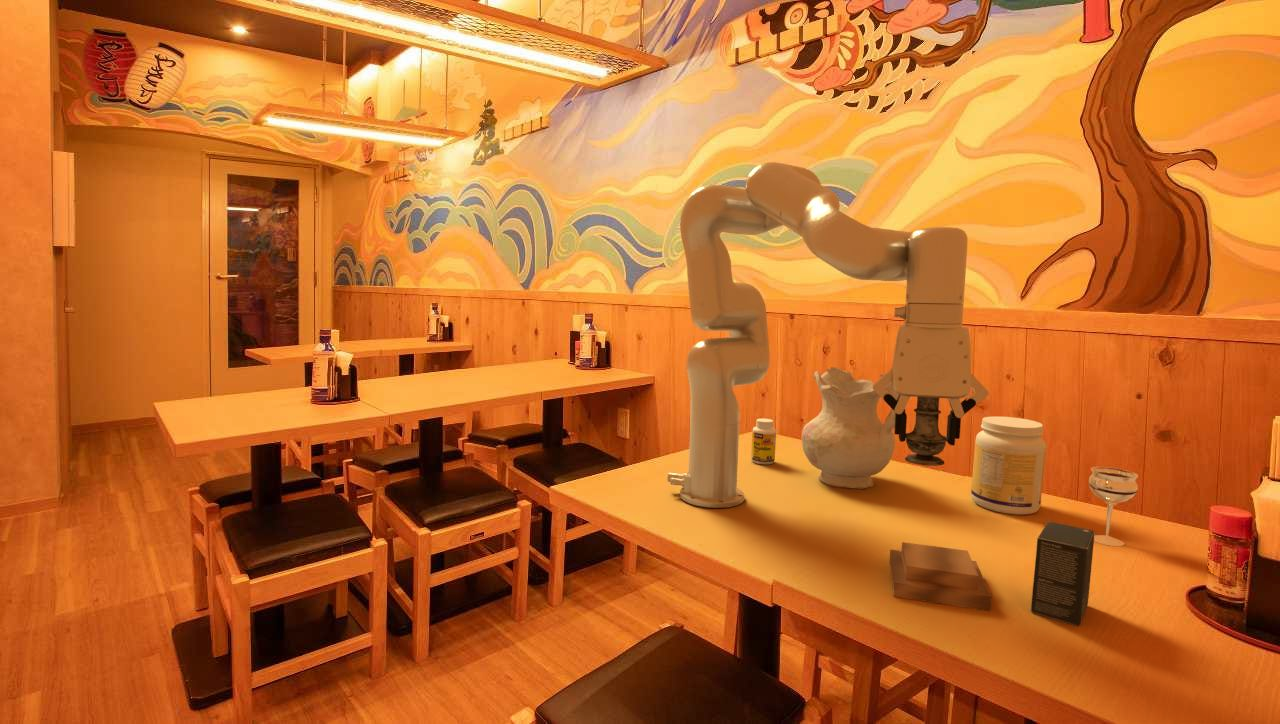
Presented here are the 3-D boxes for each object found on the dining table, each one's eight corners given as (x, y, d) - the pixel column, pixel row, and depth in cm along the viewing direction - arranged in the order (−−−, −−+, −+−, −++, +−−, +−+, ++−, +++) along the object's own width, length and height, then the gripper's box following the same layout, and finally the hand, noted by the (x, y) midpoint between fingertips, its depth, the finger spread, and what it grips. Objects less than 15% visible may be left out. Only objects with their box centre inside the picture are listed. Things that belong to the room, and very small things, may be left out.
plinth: (893, 596, 92) (895, 568, 91) (889, 562, 103) (891, 537, 103) (990, 611, 88) (993, 582, 88) (974, 573, 99) (977, 548, 99)
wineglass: (1122, 536, 116) (1130, 469, 115) (1137, 550, 110) (1145, 480, 108) (1077, 530, 118) (1084, 465, 117) (1089, 544, 112) (1097, 475, 110)
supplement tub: (990, 492, 140) (997, 413, 138) (1052, 509, 130) (1060, 424, 128) (957, 502, 133) (964, 418, 131) (1020, 520, 123) (1028, 431, 121)
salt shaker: (951, 467, 93) (956, 382, 92) (907, 464, 94) (911, 381, 93) (941, 457, 99) (946, 377, 98) (899, 455, 100) (903, 375, 99)
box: (1040, 592, 94) (1047, 520, 93) (1088, 605, 90) (1096, 530, 89) (1029, 612, 88) (1036, 535, 87) (1079, 627, 84) (1088, 547, 83)
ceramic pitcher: (915, 489, 144) (926, 374, 143) (880, 503, 130) (892, 375, 128) (822, 469, 158) (832, 365, 157) (782, 480, 144) (791, 365, 142)
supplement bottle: (748, 463, 157) (750, 421, 156) (753, 458, 163) (755, 416, 161) (772, 466, 156) (774, 423, 154) (776, 460, 161) (778, 419, 159)
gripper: (869, 316, 93) (863, 442, 95) (1007, 319, 88) (997, 452, 90) (868, 314, 100) (862, 432, 102) (995, 317, 95) (986, 440, 97)
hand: (926, 440), depth 96 cm, fingers closed on salt shaker, 5 cm apart
